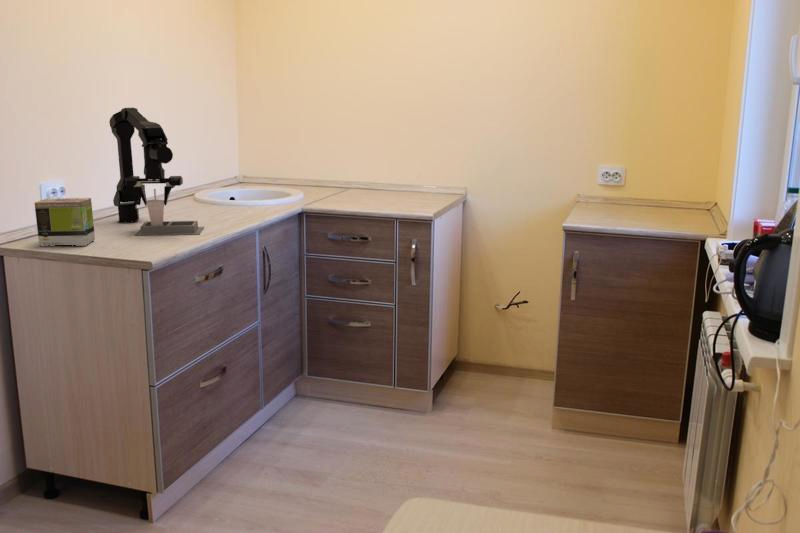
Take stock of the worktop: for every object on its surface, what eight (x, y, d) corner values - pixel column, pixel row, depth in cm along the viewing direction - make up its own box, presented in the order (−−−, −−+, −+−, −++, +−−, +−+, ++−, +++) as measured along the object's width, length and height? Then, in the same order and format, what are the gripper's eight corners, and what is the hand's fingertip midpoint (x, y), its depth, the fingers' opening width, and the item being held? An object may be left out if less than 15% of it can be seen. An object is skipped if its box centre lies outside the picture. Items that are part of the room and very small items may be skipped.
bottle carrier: (134, 235, 273) (133, 227, 272) (141, 228, 286) (141, 220, 285) (199, 234, 276) (198, 226, 275) (203, 227, 288) (203, 219, 287)
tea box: (95, 240, 265) (92, 197, 262) (85, 247, 255) (81, 201, 252) (50, 240, 265) (46, 196, 261) (38, 247, 255) (33, 201, 251)
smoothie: (147, 229, 276) (144, 190, 273) (148, 226, 282) (145, 187, 279) (166, 229, 278) (164, 189, 274) (166, 225, 284) (164, 187, 280)
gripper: (183, 158, 283) (186, 201, 287) (130, 158, 281) (133, 201, 285) (179, 161, 272) (181, 206, 276) (123, 162, 270) (126, 207, 274)
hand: (155, 205), depth 278 cm, fingers closed on smoothie, 6 cm apart
